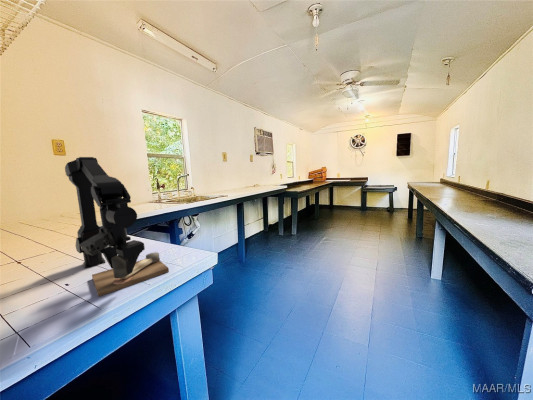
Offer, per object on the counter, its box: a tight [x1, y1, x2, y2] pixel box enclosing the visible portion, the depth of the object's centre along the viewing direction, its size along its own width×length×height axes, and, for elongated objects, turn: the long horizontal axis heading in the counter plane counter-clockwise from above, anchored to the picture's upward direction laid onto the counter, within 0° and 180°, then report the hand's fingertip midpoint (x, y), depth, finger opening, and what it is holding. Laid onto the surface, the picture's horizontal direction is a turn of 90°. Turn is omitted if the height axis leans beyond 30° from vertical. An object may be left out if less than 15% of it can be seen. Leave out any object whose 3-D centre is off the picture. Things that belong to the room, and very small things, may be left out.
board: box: [91, 259, 170, 297], centre depth 75 cm, size 15×20×2 cm
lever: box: [111, 251, 161, 279], centre depth 75 cm, size 18×4×8 cm, turn 169°
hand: (121, 270), depth 68 cm, fingers open, 9 cm apart
